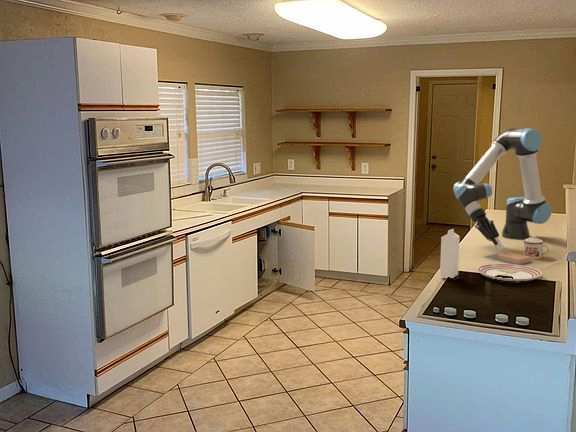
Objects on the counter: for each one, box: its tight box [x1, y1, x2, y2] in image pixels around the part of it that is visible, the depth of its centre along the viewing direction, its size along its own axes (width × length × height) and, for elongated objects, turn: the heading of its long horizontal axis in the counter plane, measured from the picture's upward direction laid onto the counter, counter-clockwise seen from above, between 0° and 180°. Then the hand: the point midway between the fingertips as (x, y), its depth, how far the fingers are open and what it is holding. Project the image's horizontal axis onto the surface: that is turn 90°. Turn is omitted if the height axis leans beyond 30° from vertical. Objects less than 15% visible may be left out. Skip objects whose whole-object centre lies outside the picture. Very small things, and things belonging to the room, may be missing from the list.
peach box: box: [496, 251, 531, 265], centre depth 286 cm, size 2×9×12 cm
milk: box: [439, 228, 461, 278], centre depth 261 cm, size 6×6×22 cm
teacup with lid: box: [522, 235, 550, 260], centre depth 292 cm, size 12×9×12 cm
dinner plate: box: [476, 263, 543, 283], centre depth 263 cm, size 28×27×3 cm
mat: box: [483, 253, 534, 266], centre depth 290 cm, size 20×12×1 cm, turn 35°
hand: (501, 249), depth 292 cm, fingers closed
